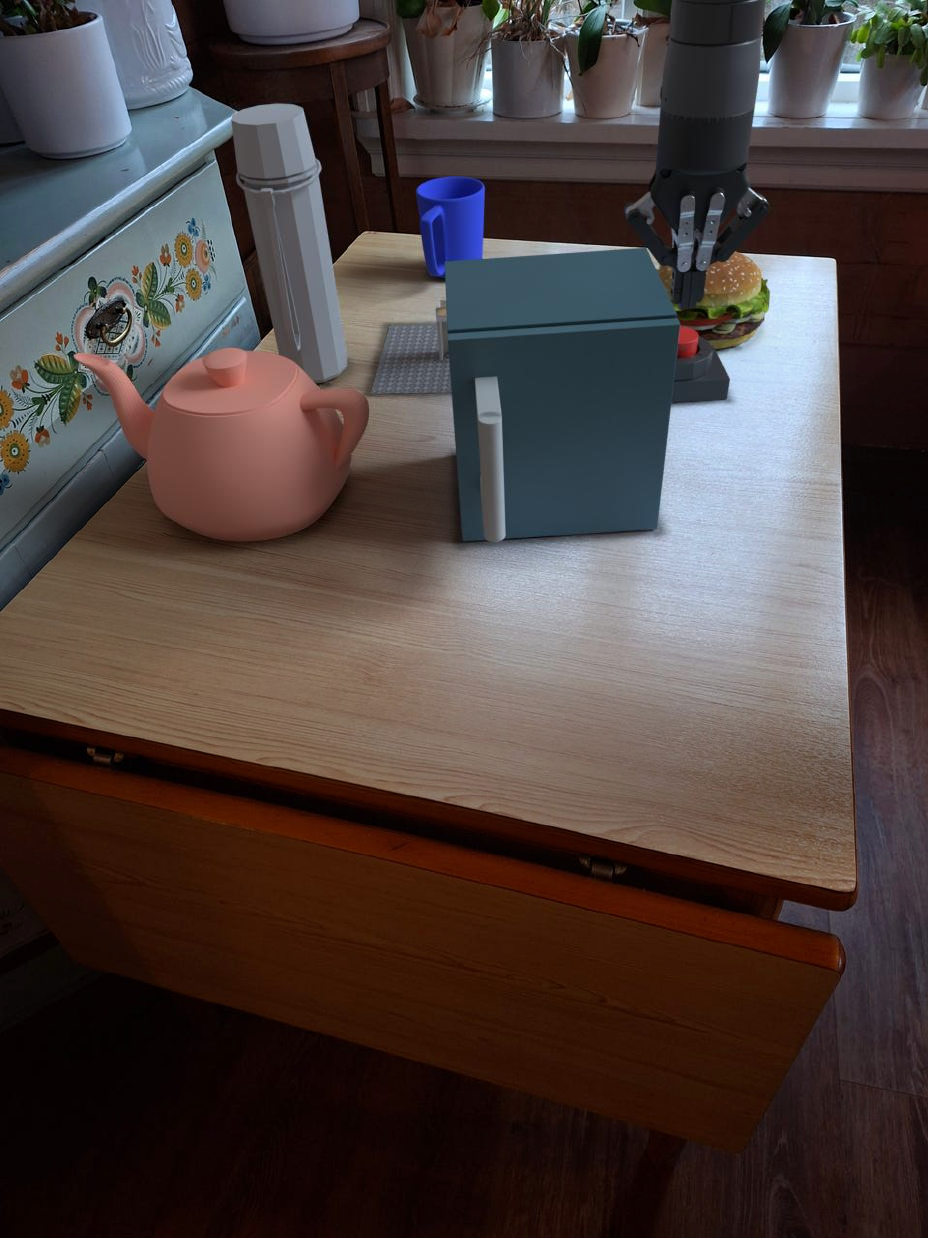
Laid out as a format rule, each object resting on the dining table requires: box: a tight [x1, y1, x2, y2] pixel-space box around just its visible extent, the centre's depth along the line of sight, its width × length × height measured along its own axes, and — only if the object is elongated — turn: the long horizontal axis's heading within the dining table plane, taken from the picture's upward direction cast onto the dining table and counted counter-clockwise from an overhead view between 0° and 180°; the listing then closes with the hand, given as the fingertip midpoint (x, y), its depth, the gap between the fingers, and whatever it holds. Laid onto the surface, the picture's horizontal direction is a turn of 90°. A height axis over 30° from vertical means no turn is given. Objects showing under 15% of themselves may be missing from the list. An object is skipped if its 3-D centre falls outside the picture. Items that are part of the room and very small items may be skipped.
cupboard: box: [444, 247, 677, 334], centre depth 74 cm, size 12×16×18 cm
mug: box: [415, 176, 486, 279], centre depth 110 cm, size 8×12×10 cm
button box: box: [671, 336, 731, 404], centre depth 90 cm, size 9×7×4 cm
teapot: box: [73, 347, 370, 543], centre depth 77 cm, size 25×17×13 cm
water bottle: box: [230, 103, 348, 384], centre depth 88 cm, size 9×8×25 cm
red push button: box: [677, 327, 698, 358], centre depth 88 cm, size 4×4×2 cm
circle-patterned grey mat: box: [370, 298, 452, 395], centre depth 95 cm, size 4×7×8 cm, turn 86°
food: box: [656, 248, 771, 350], centre depth 97 cm, size 14×14×8 cm
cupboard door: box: [448, 318, 680, 543], centre depth 66 cm, size 7×16×18 cm, turn 92°
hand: (685, 305), depth 85 cm, fingers closed
